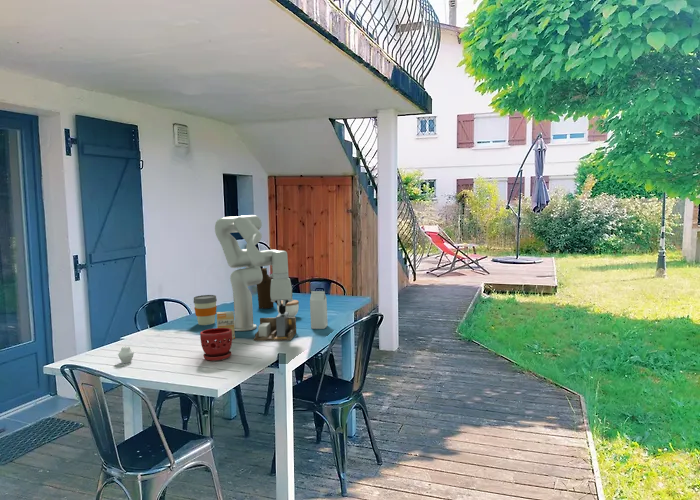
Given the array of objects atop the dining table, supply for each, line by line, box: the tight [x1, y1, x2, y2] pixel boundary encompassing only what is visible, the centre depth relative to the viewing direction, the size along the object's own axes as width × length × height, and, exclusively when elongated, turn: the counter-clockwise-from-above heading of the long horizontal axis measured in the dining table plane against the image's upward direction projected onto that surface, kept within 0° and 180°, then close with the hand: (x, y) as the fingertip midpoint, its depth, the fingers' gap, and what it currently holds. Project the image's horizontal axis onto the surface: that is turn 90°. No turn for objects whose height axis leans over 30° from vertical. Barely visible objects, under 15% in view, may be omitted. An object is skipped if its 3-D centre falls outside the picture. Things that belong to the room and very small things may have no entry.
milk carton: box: [309, 290, 329, 330], centre depth 266 cm, size 7×7×19 cm
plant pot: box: [199, 327, 233, 362], centre depth 218 cm, size 13×13×12 cm
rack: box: [253, 316, 297, 342], centre depth 251 cm, size 18×14×8 cm
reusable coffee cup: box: [193, 294, 217, 326], centre depth 287 cm, size 13×13×15 cm
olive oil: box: [256, 267, 275, 309], centre depth 327 cm, size 11×11×25 cm
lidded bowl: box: [276, 299, 300, 317], centre depth 295 cm, size 13×13×11 cm
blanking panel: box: [275, 312, 289, 337], centre depth 250 cm, size 4×10×10 cm, turn 175°
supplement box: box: [216, 310, 236, 340], centre depth 251 cm, size 8×5×13 cm, turn 105°
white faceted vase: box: [117, 345, 135, 364], centre depth 217 cm, size 6×6×7 cm
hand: (282, 313), depth 250 cm, fingers closed
